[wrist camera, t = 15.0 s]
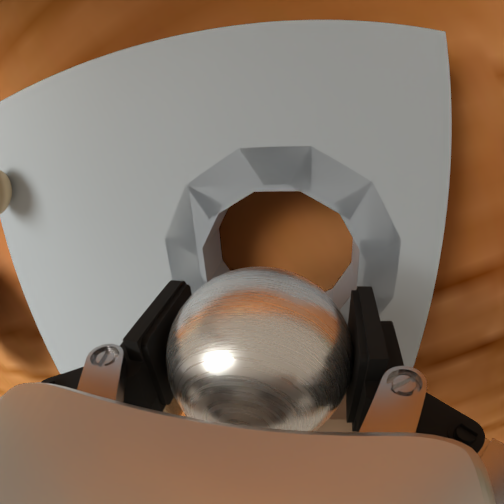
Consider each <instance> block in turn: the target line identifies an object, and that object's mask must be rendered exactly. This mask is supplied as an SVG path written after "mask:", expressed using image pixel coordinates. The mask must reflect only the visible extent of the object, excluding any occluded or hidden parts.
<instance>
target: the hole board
mask: <svg viewBox="0 0 504 504" xmlns="http://www.w3.org/2000/svg"><path fill="white" fill-rule="evenodd" d="M451 138H452V112H451V85H450V70H449V58H448V49H447V40H446V32H444V31H439V30H434V29H428V28H422V27H415V26H408V25H401V24H392V23H382V22H370V21H353V20H291V21H274V22H262V23H252V24H243V25H235V26H227V27H220V28H214V29H208V30H202V31H197V32H191V33H186V34H182V35H177V36H172V37H168V38H164V39H160V40H156V41H152V42H148V43H144V44H140V45H137V46H133V47H130V48H127V49H123V50H120V51H117V52H114V53H111V54H108V55H105V56H102V57H99V58H96V59H93V60H90V61H88V62H85V63H82V64H80V65H77V66H74V67H72V68H69V69H67V70H65V71H62V72H60V73H57V74H55V75H53V76H50V77H48V78H46V79H44V80H42V81H39V82H37V83H35V84H33V85H31V86H29V87H27V88H25V89H23V90H21V91H19V92H17V93H15V94H13V95H11V96H9V97H7V98H6V99H4V100H2V101H0V170H1V171H2V172H4V173H5V174H6V175H7V176H8V178H9V179H10V182H11V185H12V197H11V201H10V203H9V205H8V207H7V208H6V210H5V211H4V212H3V213H1V214H0V218H1V222H2V226H3V230H4V234H5V237H6V241H7V244H8V248H9V251H10V255H11V258H12V261H13V264H14V267H15V270H16V273H17V276H18V279H19V282H20V284H21V287H22V290H23V293H24V295H25V298H26V300H27V303H28V306H29V308H30V311H31V313H32V315H33V318H34V320H35V322H36V325H37V327H38V329H39V332H40V334H41V336H42V338H43V340H44V343H45V345H46V347H47V349H48V351H49V353H50V355H51V357H52V359H53V361H54V363H55V365H56V367H57V369H58V371H59V373H61V374H63V373H66V372H69V371H72V370H75V369H78V368H81V367H84V364H85V361H86V358H87V356H88V354H89V353H90V352H91V351H92V350H93V349H94V348H96V347H98V346H100V345H104V344H116V345H118V346H120V345H121V343H122V342H123V338H124V337H125V336H126V334H127V333H128V332H129V331H130V329H131V328H132V327H133V326H134V324H135V323H136V322H137V321H138V319H139V318H140V317H141V316H142V314H143V313H144V312H145V311H146V309H147V308H148V307H149V306H150V304H151V303H152V302H153V301H154V300H155V298H156V297H157V296H158V295H159V293H160V292H161V291H162V290H163V289H164V287H165V286H166V285H167V284H168V283H169V281H171V280H178V281H185V282H186V284H187V285H190V288H191V293H192V294H193V293H194V292H195V291H196V290H198V289H199V288H200V287H201V286H202V285H204V284H205V283H207V282H208V281H210V280H211V279H213V278H215V277H217V276H219V275H222V274H224V273H226V272H229V271H230V270H229V268H228V267H227V265H226V264H225V263H224V261H223V260H222V251H221V242H220V233H219V227H220V225H221V222H222V220H223V218H224V216H225V214H226V212H227V210H228V208H229V207H230V206H232V205H233V204H235V203H237V202H238V201H240V200H241V199H243V198H245V197H246V196H248V195H249V194H251V193H253V192H264V191H300V192H302V193H304V194H306V195H308V196H309V197H311V198H313V199H315V200H317V201H318V202H320V203H322V204H324V205H325V206H327V207H329V208H331V209H332V210H334V211H336V212H338V213H339V214H340V215H341V217H342V219H343V221H344V223H345V224H346V226H347V228H348V230H349V232H350V233H351V235H352V237H353V245H352V261H351V263H350V265H349V266H348V268H347V269H346V271H345V272H344V273H343V275H342V276H341V278H340V279H339V280H338V282H337V283H336V285H335V286H334V287H333V289H331V290H328V291H326V292H325V293H326V294H327V295H328V296H329V297H330V298H331V299H332V300H333V301H334V303H335V304H336V306H337V307H338V308H339V310H340V311H341V313H342V315H343V317H344V319H345V321H346V324H347V326H348V317H349V308H350V298H351V290H356V289H357V286H371V287H372V289H373V292H374V296H375V300H376V304H377V309H378V313H379V317H380V321H392V322H393V325H394V328H395V332H396V336H397V340H398V343H399V347H400V351H401V355H402V359H403V363H404V366H409V367H412V368H413V366H414V363H415V360H416V357H417V353H418V350H419V347H420V343H421V340H422V336H423V332H424V329H425V325H426V321H427V317H428V313H429V309H430V305H431V300H432V296H433V291H434V287H435V282H436V277H437V272H438V266H439V261H440V255H441V249H442V242H443V236H444V229H445V221H446V213H447V203H448V193H449V181H450V165H451Z"/></svg>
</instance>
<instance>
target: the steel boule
mask: <svg viewBox="0 0 504 504" xmlns="http://www.w3.org/2000/svg"><path fill="white" fill-rule="evenodd" d="M352 367H353V347H352V340H351V336H350V332H349V329H348V326H347V324H346V321H345V319H344V317H343V315H342V313H341V311H340V310H339V308H338V307H337V306H336V304H335V303H334V301H333V300H332V299H331V298H330V297H329V296H328V295H327V294H326V293H325V292H324V291H323V290H322V289H321V288H320V287H318V286H317V285H316V284H314V283H313V282H311V281H310V280H308V279H306V278H304V277H302V276H300V275H298V274H296V273H293V272H290V271H287V270H284V269H279V268H274V267H246V268H240V269H236V270H232V271H229V272H226V273H224V274H222V275H219V276H217V277H215V278H213V279H211V280H210V281H208V282H207V283H205V284H204V285H202V286H201V287H200V288H199V289H198V290H196V291H195V292H194V293H193V294H192V295H191V296H190V297H189V299H188V300H187V301H186V302H185V303H184V305H183V306H182V307H181V309H180V310H179V312H178V314H177V316H176V318H175V320H174V322H173V324H172V327H171V330H170V333H169V336H168V340H167V347H166V369H167V376H168V380H169V383H170V387H171V390H172V392H173V395H174V397H175V399H176V400H177V402H178V404H179V406H180V407H181V409H182V410H183V412H184V413H185V414H186V415H187V416H188V417H191V418H196V419H202V420H208V421H215V422H221V423H228V424H236V425H244V426H252V427H262V428H272V429H284V430H298V431H316V430H317V429H319V428H320V427H321V426H322V425H323V424H324V423H325V422H326V421H327V420H328V419H329V418H330V417H331V416H332V415H333V413H334V412H335V411H336V409H337V408H338V406H339V405H340V404H341V402H342V400H343V398H344V396H345V393H346V391H347V389H348V386H349V383H350V379H351V374H352Z"/></svg>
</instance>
